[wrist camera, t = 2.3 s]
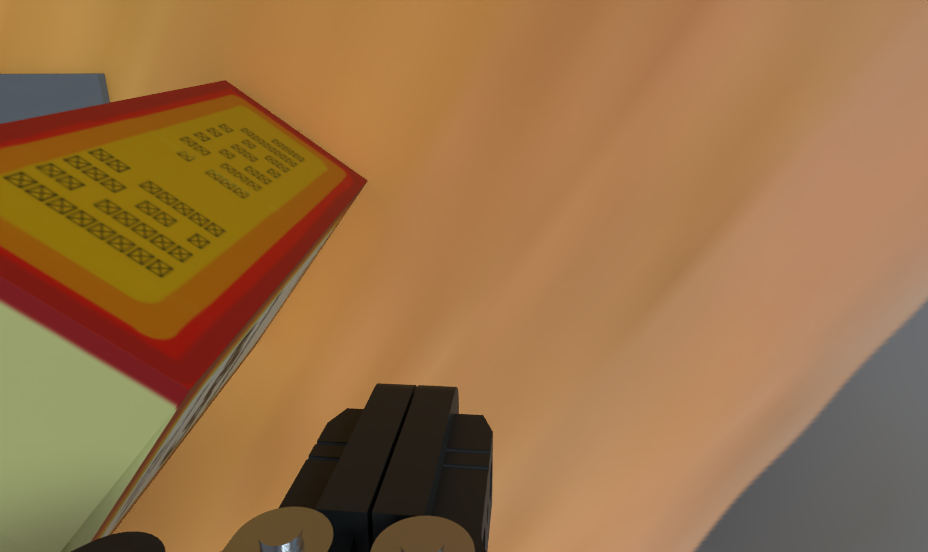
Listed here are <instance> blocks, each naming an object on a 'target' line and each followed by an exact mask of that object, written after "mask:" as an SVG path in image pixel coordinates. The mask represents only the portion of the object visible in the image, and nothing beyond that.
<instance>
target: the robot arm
mask: <svg viewBox="0 0 928 552" xmlns="http://www.w3.org/2000/svg"><path fill="white" fill-rule="evenodd" d="M492 459H493V431H492V430H491V428H490V426H489V425H488V423H487V421H486V419H485V418H484V416H483V415H469V414H459V399H458V388H457V387H445V386H424V385H418V387H417V386H416V385H400V384H379V383H378V384H377V385H376V386H375V388H374V390H373V392H372V394H371V396H370V398H369V400H368V402H367V404H366V406H365V408H364V409H349V408H347V409H346V410H344V411H343V412H342V413H340V414H339V415H338V416H336V417H335V418H334V419H332V420H331V421H330V422H328V423H327V425H326V427H325V428H324V430H323V432H322V433H321V435H320V437H319V439H318V440H317V444H315V446H314V447H313V449H312V451H311V453H310V454H309V459H308V460H306V461H305V463H304V465H303V467H302V468H301V470H300V472H299V474H298V475H297V477H296V479H295V481H294V482H293V484H292V486H291V487H290V489H289V491H288V493H287V494H286V496H285V498H284V500H283V501H282V503H281V505H280V507H279V508H278V509H274V510H271V511H268V512H265V513H263V514H260V515H258V516H256V517H254V518H253V519H251V520H250V521H248V522H247V523H245V524H244V525H243V526H242V527H241V528H240V529H239V530H238V531H237V532H236V533H235V534H234V536H233V537H232V538H231V540H230V541H229V543H228V544H227V545H226V547H225V548H224V549H223V551H221V552H487V549H488V539H489V528H490V518H491V508H492ZM71 552H165V547H164V545H163V543H162V542H161V541H160V540H159V539H158V538H157V537H155V536H153V535H151V534H148V533H144V532H123V533H117V534H112V535H108V536H105V537H102V538H99V539H97V540H94V541H92V542H90V543H87V544H85V545H83V546H81V547H79V548H77V549H75V550H73V551H71Z"/></svg>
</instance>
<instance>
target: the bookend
mask: <svg viewBox="0 0 928 552" xmlns="http://www.w3.org/2000/svg"><path fill="white" fill-rule="evenodd" d="M106 103H110V102H109V96H108V91H107V86H106V80H105V75H104V74H0V124H2V123H8V122H13V121H18V120H23V119H28V118H33V117H39V116H44V115H49V114H54V113H59V112H64V111H70V110H75V109H80V108H85V107H90V106H96V105H101V104H106Z"/></svg>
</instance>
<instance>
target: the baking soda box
mask: <svg viewBox="0 0 928 552" xmlns="http://www.w3.org/2000/svg"><path fill="white" fill-rule="evenodd" d="M366 182H367V180H366V179H365V178H363V177H362V176H360V175H359V174H357V173H356V172H355V171H353V170H352V169H350V168H349V167H348V166H346V165H345V164H343V163H342V162H340V161H339V160H338V159H336V158H335V157H333V156H332V155H331V154H329V153H328V152H326V151H325V150H323V149H322V148H321V147H319V146H318V145H316V144H315V143H314V142H312V141H311V140H309V139H308V138H306V137H305V136H304V135H302V134H301V133H299V132H298V131H297V130H295V129H294V128H292V127H291V126H289V125H288V124H287V123H285V122H284V121H282V120H281V119H280V118H278V117H277V116H275V115H274V114H272V113H271V112H270V111H268V110H267V109H265V108H264V107H263V106H261V105H260V104H258V103H257V102H255V101H254V100H253V99H251V98H250V97H248V96H247V95H246V94H244V93H243V92H241V91H240V90H238V89H237V88H236V87H234V86H233V85H231V84H230V83H229V82H227V81H226V80H225V81H220V82H215V83H209V84H204V85H199V86H194V87H189V88H183V89H178V90H173V91H168V92H163V93H158V94H152V95H147V96H142V97H137V98H132V99H127V100H121V101H116V102H111V103H106V104H101V105H96V106H90V107H85V108H80V109H75V110H70V111H64V112H59V113H54V114H49V115H44V116H39V117H33V118H28V119H23V120H18V121H13V122H8V123H2V124H0V552H71V551H73V550H75V549H77V548H79V547H81V546H83V545H85V544H87V543H90V542H92V541H94V540H97V539H99V538H102V537H105V536H108V535H112V533H113V532H114V531H115V529H116V528H117V527H118V525H119V524H120V523H121V521H122V520H123V519H124V517H125V516H126V515H127V514H128V512H129V511H130V510H131V508H132V507H133V506H134V504H135V503H136V502H137V500H138V499H139V498H140V496H141V495H142V494H143V493H144V491H145V490H146V489H147V487H148V486H149V485H150V483H151V482H152V481H153V479H154V478H155V477H156V475H157V474H158V473H159V472H160V470H161V469H162V468H163V466H164V465H165V464H166V462H167V461H168V460H169V458H170V457H171V456H172V454H173V453H174V452H175V451H176V449H177V448H178V447H179V445H180V444H181V443H182V441H183V440H184V439H185V437H186V436H187V435H188V433H189V432H190V431H191V430H192V428H193V427H194V426H195V424H196V423H197V422H198V420H199V419H200V418H201V416H202V415H203V414H204V413H205V411H206V410H207V409H208V407H209V406H210V405H211V403H212V402H213V401H214V399H215V398H216V397H217V395H218V394H219V393H220V392H221V390H222V389H223V388H224V386H225V385H226V384H227V382H228V381H229V380H230V378H231V377H232V376H233V374H234V373H235V372H236V371H237V369H238V368H239V367H240V365H241V364H242V363H243V361H244V360H245V359H246V357H247V356H248V355H249V353H250V352H251V351H252V350H253V348H254V347H255V345H256V344H257V343H258V341H259V340H260V338H261V337H262V335H263V334H264V332H265V331H266V329H267V328H268V326H269V325H270V323H271V322H272V321H273V319H274V318H275V316H276V315H277V313H278V312H279V310H280V309H281V307H282V306H283V304H284V303H285V301H286V300H287V298H288V297H289V296H290V294H291V293H292V291H293V290H294V288H295V287H296V285H297V284H298V282H299V281H300V279H301V278H302V276H303V275H304V274H305V272H306V271H307V269H308V268H309V266H310V265H311V263H312V262H313V260H314V259H315V257H316V256H317V254H318V253H319V251H320V250H321V249H322V247H323V246H324V244H325V243H326V241H327V240H328V238H329V237H330V235H331V234H332V232H333V231H334V229H335V228H336V227H337V225H338V224H339V222H340V221H341V219H342V218H343V216H344V215H345V213H346V212H347V210H348V209H349V207H350V206H351V204H352V203H353V202H354V200H355V199H356V197H357V196H358V194H359V193H360V191H361V190H362V188H363V187H364V185H365V184H366Z"/></svg>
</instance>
